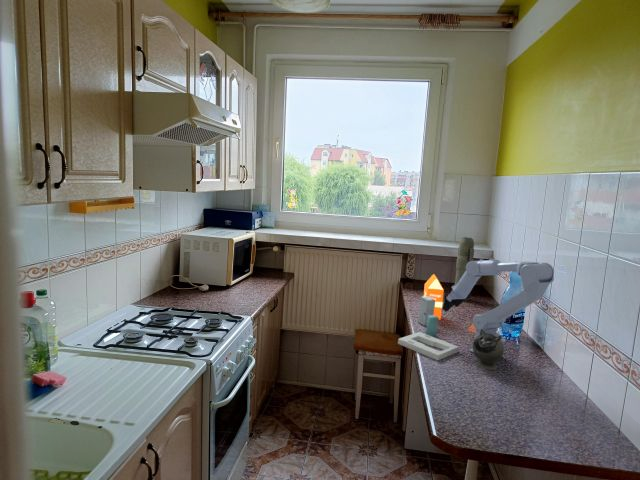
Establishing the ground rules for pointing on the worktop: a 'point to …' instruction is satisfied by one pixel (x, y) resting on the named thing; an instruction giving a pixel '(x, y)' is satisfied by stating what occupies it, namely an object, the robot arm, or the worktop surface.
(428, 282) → the orange juice
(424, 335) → the white rectangular frame
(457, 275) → the thermos
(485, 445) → the worktop surface
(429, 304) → the skincare box
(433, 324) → the teal peg
